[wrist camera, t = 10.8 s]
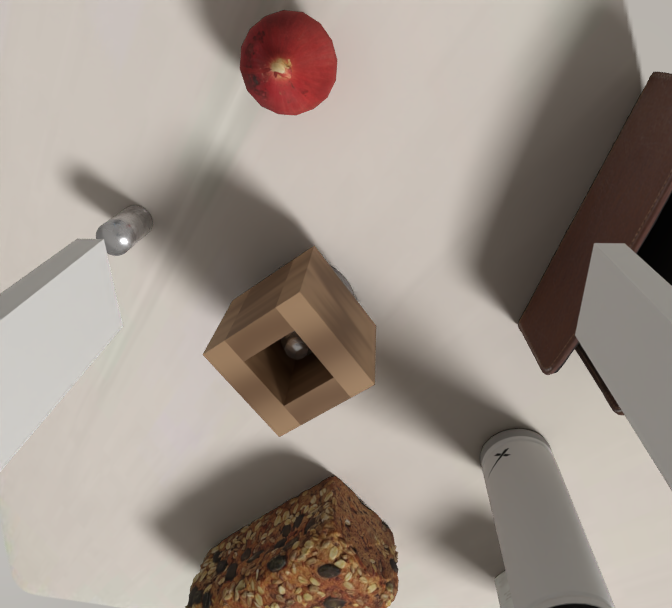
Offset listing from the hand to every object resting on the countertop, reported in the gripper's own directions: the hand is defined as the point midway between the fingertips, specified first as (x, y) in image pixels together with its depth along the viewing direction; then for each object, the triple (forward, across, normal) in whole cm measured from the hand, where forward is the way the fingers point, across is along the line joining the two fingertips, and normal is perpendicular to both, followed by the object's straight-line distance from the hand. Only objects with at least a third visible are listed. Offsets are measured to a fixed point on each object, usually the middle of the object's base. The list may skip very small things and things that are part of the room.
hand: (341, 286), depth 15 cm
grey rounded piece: (+26, -18, -7) cm, 32 cm away
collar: (+24, -5, -14) cm, 28 cm away
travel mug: (+26, +14, -29) cm, 41 cm away
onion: (+26, -4, +4) cm, 27 cm away
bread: (+26, -7, -41) cm, 49 cm away
